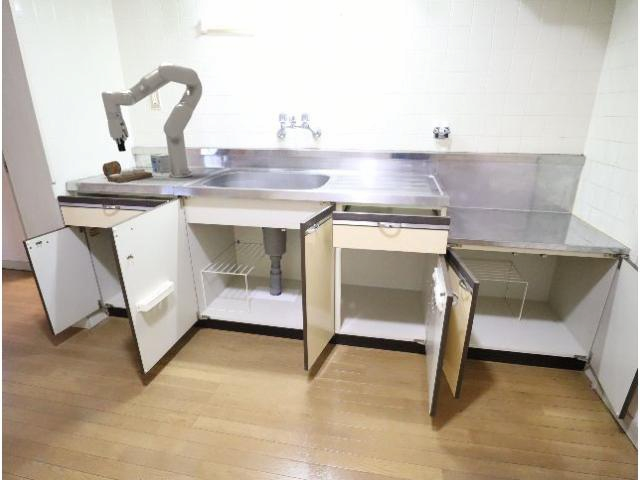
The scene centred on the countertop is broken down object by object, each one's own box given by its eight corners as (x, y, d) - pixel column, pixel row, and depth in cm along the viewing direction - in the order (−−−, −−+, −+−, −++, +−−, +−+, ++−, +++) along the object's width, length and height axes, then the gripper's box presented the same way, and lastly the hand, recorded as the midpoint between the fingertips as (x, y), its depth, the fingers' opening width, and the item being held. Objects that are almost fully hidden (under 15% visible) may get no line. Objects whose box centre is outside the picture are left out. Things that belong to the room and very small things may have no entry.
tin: (108, 178, 207) (105, 163, 204) (103, 178, 207) (100, 163, 204) (122, 173, 221) (120, 159, 218) (117, 173, 221) (114, 159, 218)
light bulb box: (152, 171, 227) (149, 154, 223) (162, 170, 232) (159, 153, 229) (162, 173, 222) (160, 155, 218) (172, 171, 227) (169, 154, 223)
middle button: (134, 175, 206) (133, 170, 205) (126, 177, 202) (125, 171, 201) (129, 175, 208) (128, 169, 207) (122, 176, 205) (121, 171, 204)
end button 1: (122, 179, 201) (121, 174, 200) (115, 181, 197) (114, 175, 196) (118, 179, 203) (117, 173, 202) (110, 180, 199) (109, 175, 198)
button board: (152, 177, 210) (151, 172, 209) (119, 183, 194) (118, 178, 193) (140, 175, 216) (140, 170, 215) (107, 181, 200) (106, 176, 199)
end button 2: (145, 173, 212) (144, 168, 211) (138, 175, 208) (137, 169, 207) (140, 173, 214) (139, 168, 213) (133, 174, 210) (132, 169, 209)
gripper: (129, 115, 192) (137, 150, 199) (112, 116, 199) (120, 150, 206) (116, 116, 186) (124, 152, 193) (99, 116, 193) (107, 151, 200)
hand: (122, 151), depth 199 cm, fingers closed
